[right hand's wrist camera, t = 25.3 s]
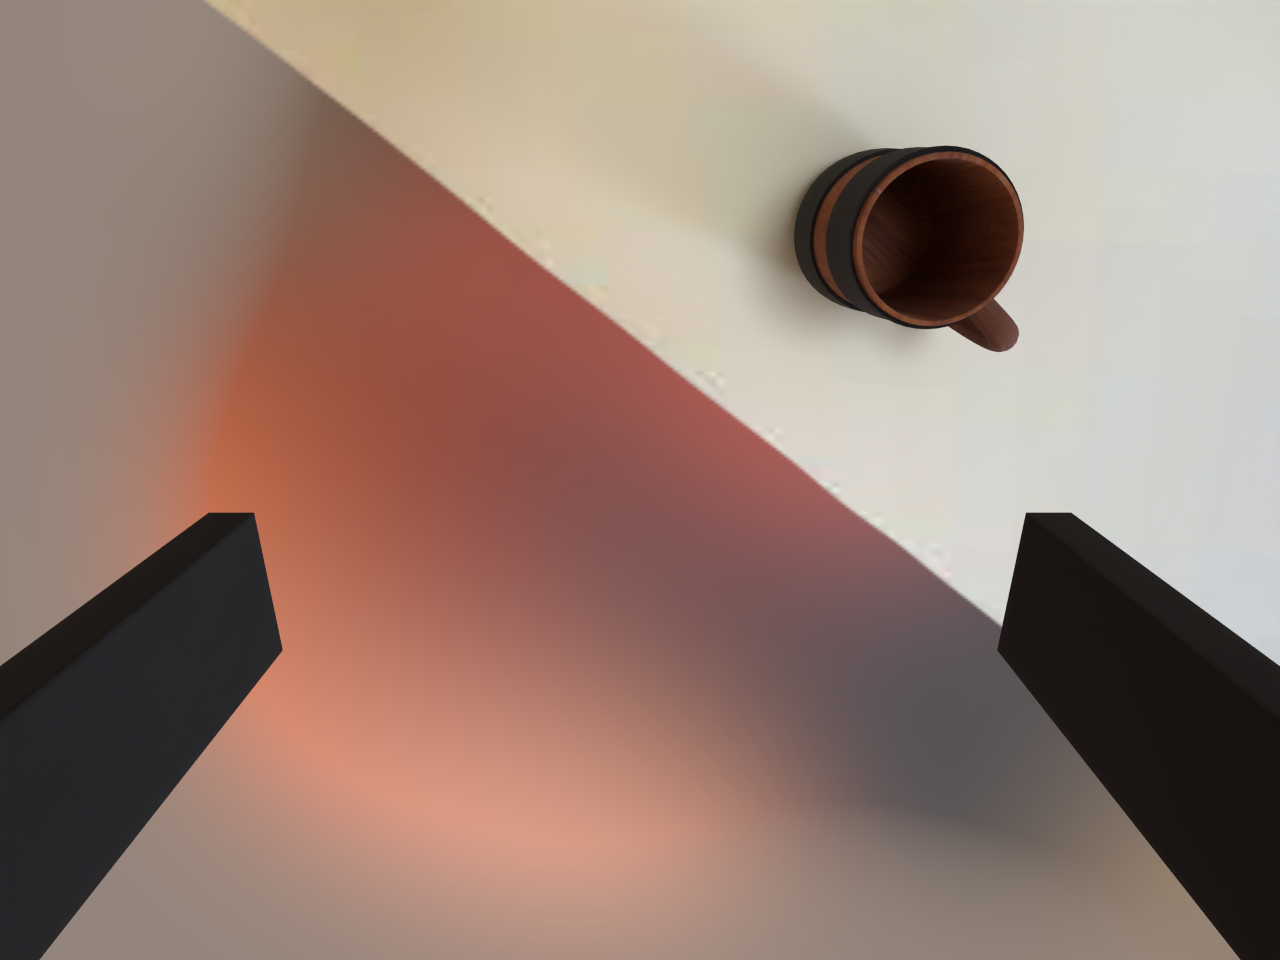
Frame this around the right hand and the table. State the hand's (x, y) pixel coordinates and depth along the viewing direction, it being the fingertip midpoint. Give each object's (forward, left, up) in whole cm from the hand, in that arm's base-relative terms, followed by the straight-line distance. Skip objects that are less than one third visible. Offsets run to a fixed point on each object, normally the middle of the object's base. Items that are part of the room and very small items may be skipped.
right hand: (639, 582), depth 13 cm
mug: (+14, +4, -34) cm, 38 cm away
